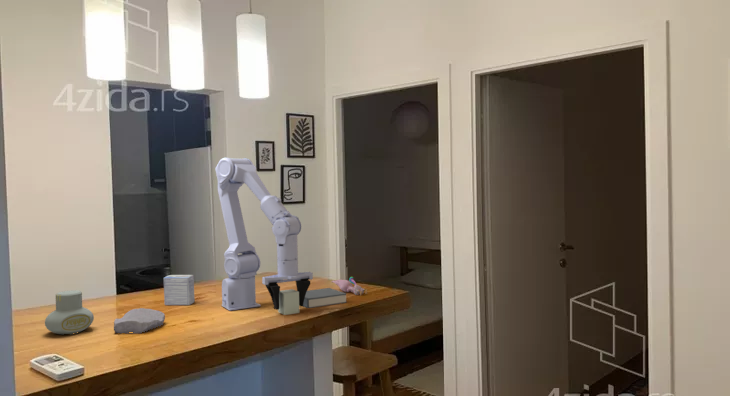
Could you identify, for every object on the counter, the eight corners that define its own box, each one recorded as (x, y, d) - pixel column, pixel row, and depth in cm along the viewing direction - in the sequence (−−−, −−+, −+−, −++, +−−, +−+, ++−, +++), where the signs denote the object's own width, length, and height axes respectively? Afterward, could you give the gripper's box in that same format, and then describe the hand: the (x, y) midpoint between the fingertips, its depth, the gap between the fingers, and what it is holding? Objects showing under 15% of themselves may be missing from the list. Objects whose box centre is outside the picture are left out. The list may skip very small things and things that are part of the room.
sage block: (284, 315, 157) (284, 293, 157) (278, 312, 161) (277, 291, 161) (299, 312, 159) (298, 291, 159) (292, 309, 163) (292, 289, 163)
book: (307, 309, 165) (307, 298, 165) (291, 302, 174) (291, 292, 174) (346, 303, 172) (346, 293, 171) (329, 297, 181) (329, 287, 181)
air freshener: (52, 339, 136) (50, 298, 136) (40, 333, 142) (39, 293, 142) (99, 330, 144) (97, 291, 144) (86, 324, 150) (84, 287, 150)
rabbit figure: (370, 298, 184) (339, 285, 195) (372, 280, 183) (340, 268, 194) (356, 301, 180) (325, 287, 190) (358, 283, 179) (327, 270, 189)
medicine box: (195, 302, 176) (194, 274, 175) (189, 305, 171) (188, 277, 171) (170, 302, 176) (169, 274, 176) (164, 305, 172) (163, 277, 172)
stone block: (167, 328, 152) (130, 321, 152) (170, 311, 152) (133, 304, 152) (148, 343, 140) (109, 335, 140) (152, 324, 140) (112, 316, 140)
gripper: (268, 263, 152) (269, 313, 153) (317, 258, 160) (318, 306, 160) (259, 260, 158) (260, 308, 159) (306, 255, 166) (307, 302, 166)
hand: (288, 307), depth 160 cm, fingers open, 7 cm apart
